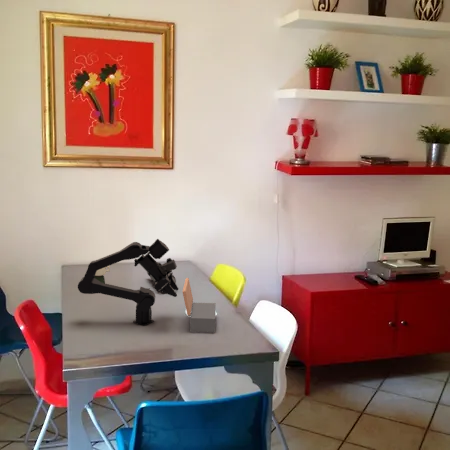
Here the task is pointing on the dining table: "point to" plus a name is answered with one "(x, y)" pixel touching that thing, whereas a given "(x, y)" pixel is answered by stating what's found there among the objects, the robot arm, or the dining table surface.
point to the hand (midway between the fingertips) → (177, 293)
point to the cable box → (203, 318)
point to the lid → (188, 297)
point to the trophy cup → (101, 274)
